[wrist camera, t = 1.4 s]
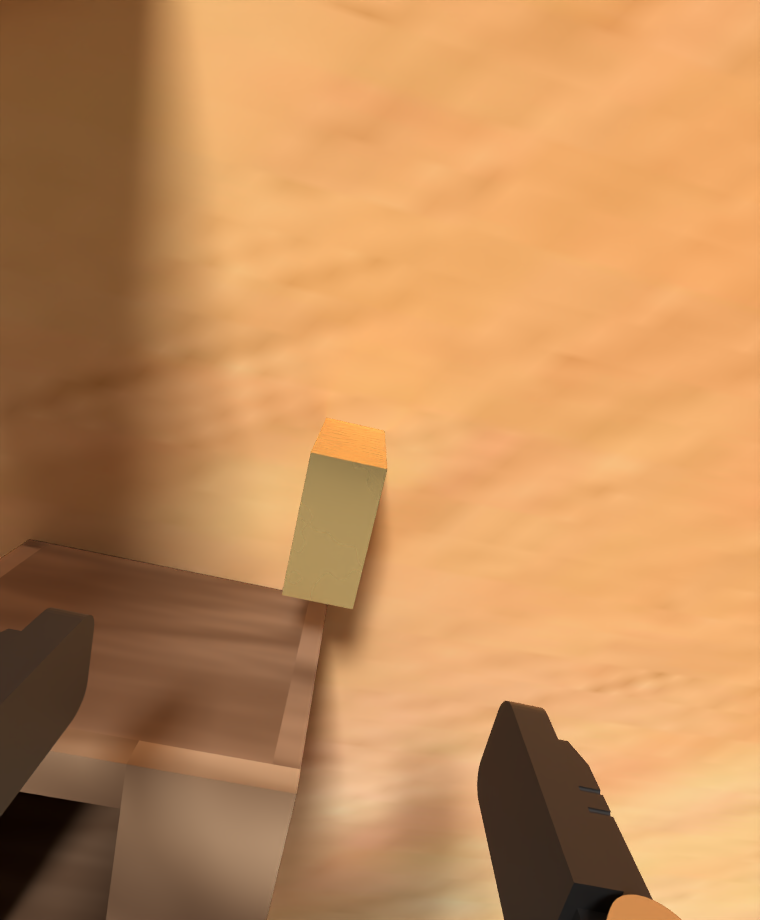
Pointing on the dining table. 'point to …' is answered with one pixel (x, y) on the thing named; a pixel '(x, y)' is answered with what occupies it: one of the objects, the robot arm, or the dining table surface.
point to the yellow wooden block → (336, 514)
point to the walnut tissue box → (160, 743)
